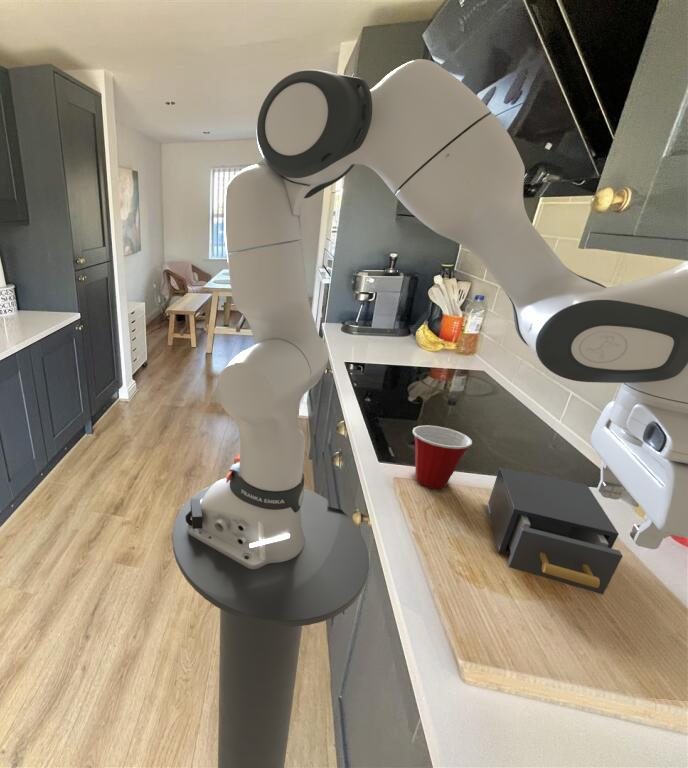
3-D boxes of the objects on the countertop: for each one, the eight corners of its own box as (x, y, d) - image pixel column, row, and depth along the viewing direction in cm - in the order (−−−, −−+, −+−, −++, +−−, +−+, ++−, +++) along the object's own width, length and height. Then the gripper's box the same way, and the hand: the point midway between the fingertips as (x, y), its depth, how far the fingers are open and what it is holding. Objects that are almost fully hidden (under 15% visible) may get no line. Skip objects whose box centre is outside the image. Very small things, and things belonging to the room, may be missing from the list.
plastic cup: (454, 472, 91) (466, 426, 87) (463, 500, 82) (478, 451, 78) (401, 463, 96) (410, 419, 91) (404, 488, 87) (415, 441, 82)
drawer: (613, 616, 57) (635, 576, 54) (513, 585, 62) (528, 547, 59) (575, 540, 70) (591, 505, 67) (496, 520, 76) (507, 486, 73)
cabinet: (595, 580, 64) (619, 533, 60) (498, 553, 69) (514, 508, 66) (569, 527, 75) (587, 484, 71) (486, 507, 80) (499, 467, 77)
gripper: (595, 379, 53) (562, 467, 58) (681, 453, 36) (624, 567, 41) (663, 386, 50) (621, 478, 55) (790, 470, 33) (714, 590, 38)
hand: (623, 517), depth 48 cm, fingers open, 8 cm apart
